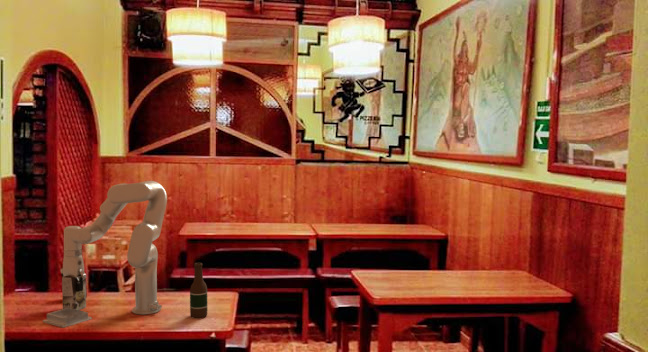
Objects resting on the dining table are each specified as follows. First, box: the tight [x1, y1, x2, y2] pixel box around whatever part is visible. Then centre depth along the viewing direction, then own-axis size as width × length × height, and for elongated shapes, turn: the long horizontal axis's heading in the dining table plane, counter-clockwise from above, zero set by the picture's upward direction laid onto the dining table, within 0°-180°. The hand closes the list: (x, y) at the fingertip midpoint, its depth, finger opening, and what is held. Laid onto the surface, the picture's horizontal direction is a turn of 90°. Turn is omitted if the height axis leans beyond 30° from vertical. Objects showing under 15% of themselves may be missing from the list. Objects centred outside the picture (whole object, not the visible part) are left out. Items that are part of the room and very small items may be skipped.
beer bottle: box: [189, 262, 208, 319], centre depth 259 cm, size 8×8×24 cm
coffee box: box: [61, 276, 87, 311], centre depth 269 cm, size 9×6×16 cm
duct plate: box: [42, 308, 93, 329], centre depth 253 cm, size 14×14×3 cm
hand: (73, 289), depth 269 cm, fingers open, 9 cm apart
